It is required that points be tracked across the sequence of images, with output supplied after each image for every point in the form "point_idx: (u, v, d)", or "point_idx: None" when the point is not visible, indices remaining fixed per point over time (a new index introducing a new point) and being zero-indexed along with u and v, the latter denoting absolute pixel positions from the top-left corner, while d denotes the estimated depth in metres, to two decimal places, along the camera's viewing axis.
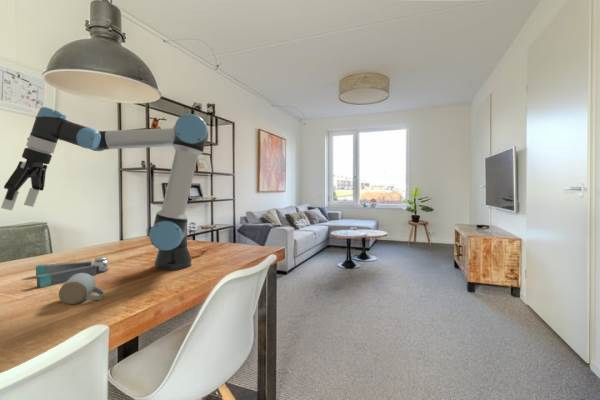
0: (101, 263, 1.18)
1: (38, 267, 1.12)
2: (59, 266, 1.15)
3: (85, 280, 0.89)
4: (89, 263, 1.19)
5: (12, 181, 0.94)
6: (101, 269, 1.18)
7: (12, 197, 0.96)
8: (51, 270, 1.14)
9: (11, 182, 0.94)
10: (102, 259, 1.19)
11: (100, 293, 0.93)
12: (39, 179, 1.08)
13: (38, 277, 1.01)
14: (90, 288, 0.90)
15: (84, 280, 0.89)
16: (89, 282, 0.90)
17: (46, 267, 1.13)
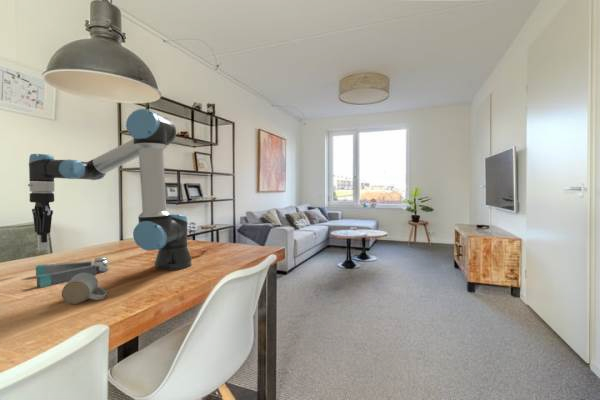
0: (101, 263, 1.18)
1: (38, 267, 1.12)
2: (59, 266, 1.15)
3: (87, 280, 0.89)
4: (89, 263, 1.19)
5: (46, 228, 1.16)
6: (101, 269, 1.18)
7: None
8: (51, 270, 1.14)
9: (46, 229, 1.16)
10: (102, 259, 1.19)
11: (102, 293, 0.93)
12: None
13: (38, 277, 1.01)
14: (93, 288, 0.90)
15: (86, 279, 0.89)
16: (92, 282, 0.90)
17: (46, 267, 1.13)
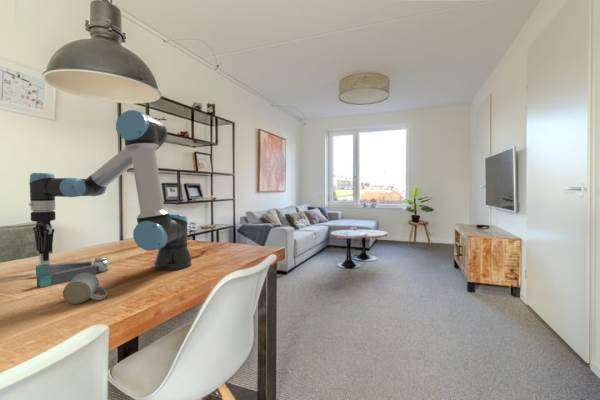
0: (101, 263, 1.18)
1: (38, 267, 1.12)
2: (59, 266, 1.15)
3: (88, 280, 0.89)
4: (89, 263, 1.19)
5: (48, 246, 1.16)
6: (101, 269, 1.18)
7: None
8: (51, 270, 1.14)
9: (48, 247, 1.16)
10: (102, 259, 1.19)
11: (103, 293, 0.93)
12: None
13: (38, 277, 1.01)
14: (94, 288, 0.90)
15: (87, 279, 0.89)
16: (93, 282, 0.90)
17: (46, 267, 1.13)
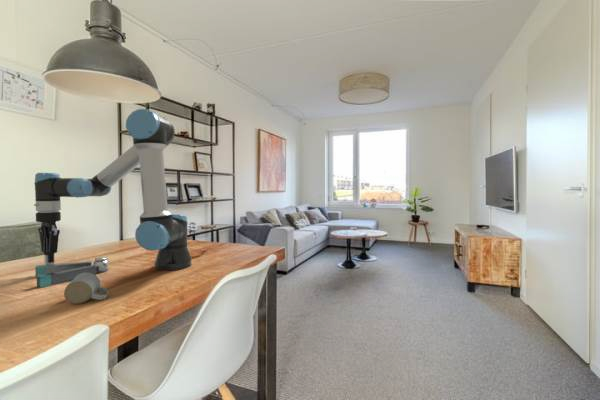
0: (101, 263, 1.18)
1: (38, 267, 1.12)
2: (59, 266, 1.15)
3: (90, 279, 0.89)
4: (89, 263, 1.19)
5: (53, 248, 1.14)
6: (101, 269, 1.18)
7: None
8: (51, 270, 1.14)
9: (53, 249, 1.14)
10: (102, 259, 1.19)
11: (105, 293, 0.93)
12: None
13: (38, 277, 1.01)
14: (95, 288, 0.90)
15: (89, 279, 0.89)
16: (94, 282, 0.90)
17: (46, 267, 1.13)
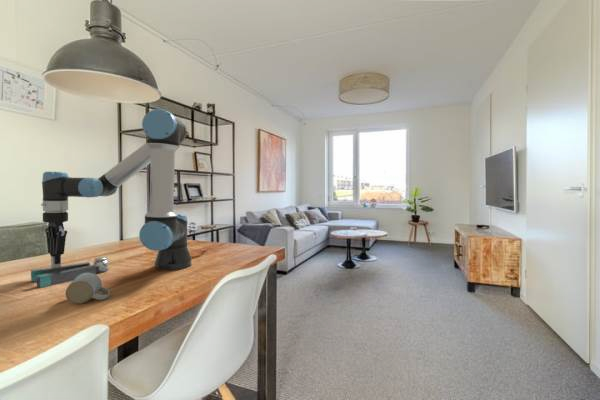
0: (101, 263, 1.18)
1: (34, 272, 1.06)
2: (57, 269, 1.11)
3: (91, 279, 0.89)
4: (88, 264, 1.18)
5: (60, 249, 1.11)
6: (101, 269, 1.18)
7: None
8: None
9: (60, 250, 1.11)
10: (104, 259, 1.19)
11: (106, 293, 0.93)
12: None
13: (38, 277, 1.01)
14: (96, 288, 0.90)
15: (90, 279, 0.89)
16: (95, 282, 0.90)
17: (43, 271, 1.08)
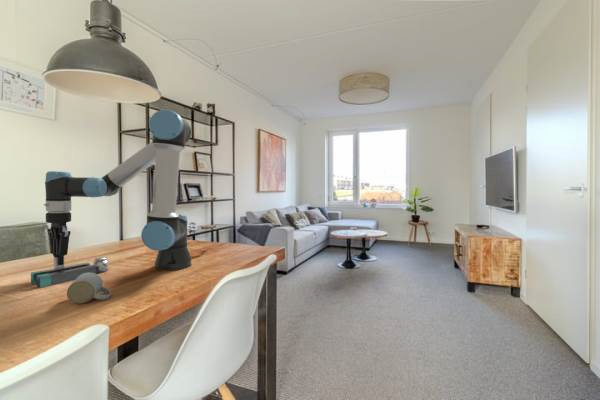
0: (101, 263, 1.18)
1: (36, 274, 1.03)
2: (58, 270, 1.09)
3: (92, 279, 0.89)
4: (88, 264, 1.17)
5: (63, 250, 1.09)
6: (101, 269, 1.18)
7: None
8: None
9: (63, 251, 1.09)
10: (105, 258, 1.20)
11: (107, 292, 0.93)
12: None
13: (38, 277, 1.01)
14: (97, 287, 0.90)
15: (91, 279, 0.89)
16: (96, 281, 0.91)
17: (44, 273, 1.06)
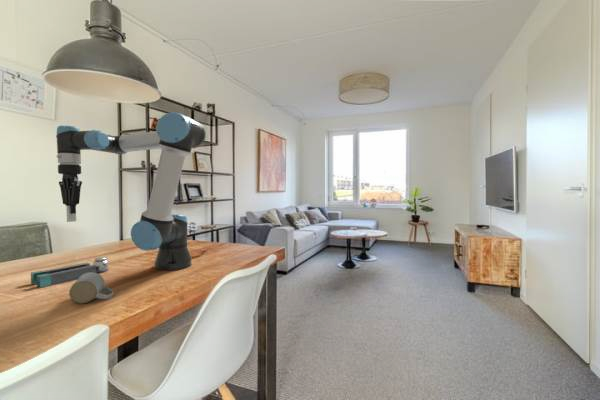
0: (101, 263, 1.18)
1: (36, 274, 1.03)
2: (58, 270, 1.09)
3: (94, 279, 0.90)
4: (88, 264, 1.17)
5: (76, 198, 1.18)
6: (101, 269, 1.18)
7: None
8: None
9: (75, 199, 1.18)
10: (105, 258, 1.20)
11: (109, 292, 0.94)
12: None
13: (38, 277, 1.01)
14: (100, 287, 0.90)
15: (93, 279, 0.89)
16: (99, 281, 0.91)
17: (44, 273, 1.06)
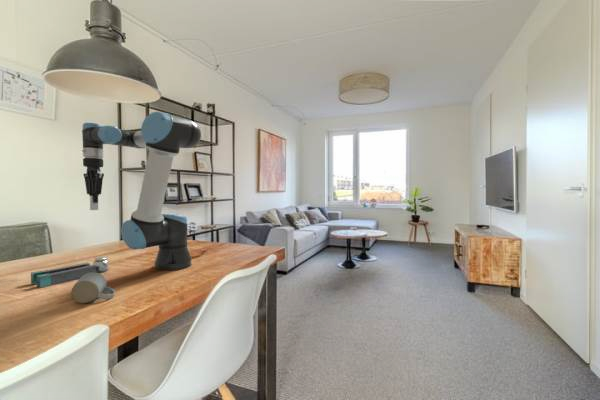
0: (101, 263, 1.18)
1: (36, 274, 1.03)
2: (58, 270, 1.09)
3: (96, 279, 0.90)
4: (88, 264, 1.17)
5: (98, 189, 1.30)
6: (101, 269, 1.18)
7: None
8: None
9: (98, 190, 1.30)
10: (105, 258, 1.20)
11: (111, 292, 0.94)
12: None
13: (38, 277, 1.01)
14: (101, 287, 0.90)
15: (95, 279, 0.89)
16: (100, 281, 0.91)
17: (44, 273, 1.06)
